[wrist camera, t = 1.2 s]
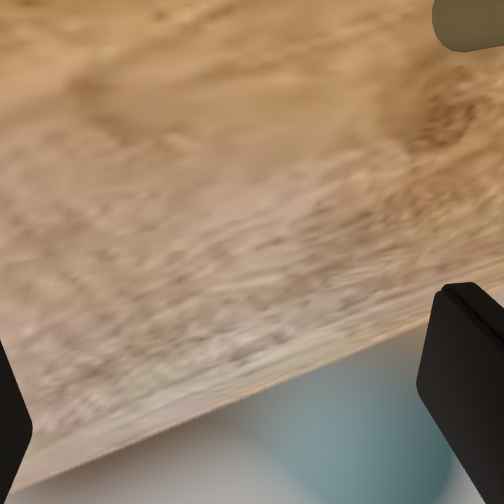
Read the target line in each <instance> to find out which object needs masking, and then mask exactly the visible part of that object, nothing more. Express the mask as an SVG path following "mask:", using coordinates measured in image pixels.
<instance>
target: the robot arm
mask: <svg viewBox="0 0 504 504" xmlns="http://www.w3.org/2000/svg"><path fill="white" fill-rule="evenodd" d="M416 385H417V391H418V394H419V396H420V398H421V400H422V401H423V403H424V404H425V406H426V408H427V409H428V411H429V413H430V414H431V416H432V417H433V419H434V421H435V422H436V424H437V426H438V427H439V429H440V430H441V432H442V434H443V435H444V437H445V438H446V440H447V442H448V443H449V445H450V447H451V448H452V450H453V451H454V453H455V455H456V456H457V458H458V459H459V461H460V463H461V464H462V466H463V468H464V469H465V471H466V472H467V474H468V476H469V477H470V479H471V481H472V482H473V484H474V485H475V487H476V489H477V490H478V492H479V494H480V495H481V497H482V498H483V500H484V502H485V503H486V504H504V308H503V307H502V306H501V305H499V304H498V303H497V302H496V301H495V300H494V299H492V297H490V296H489V295H488V294H487V293H486V292H485V291H484V290H482V289H481V288H480V287H479V286H478V285H477V284H475V283H473V282H464V283H452V284H446V285H444V286H443V287H442V289H441V291H438V292H437V293H436V294H435V297H434V301H433V305H432V310H431V315H430V319H429V324H428V329H427V333H426V339H425V343H424V348H423V352H422V357H421V362H420V366H419V371H418V376H417V382H416ZM32 430H33V427H32V421H31V418H30V415H29V413H28V410H27V408H26V405H25V402H24V400H23V397H22V395H21V392H20V390H19V387H18V384H17V382H16V379H15V377H14V374H13V371H12V369H11V366H10V364H9V361H8V359H7V356H6V353H5V351H4V348H3V346H2V343H1V341H0V504H4V502H5V500H6V497H7V495H8V493H9V490H10V488H11V486H12V483H13V481H14V478H15V476H16V474H17V471H18V469H19V466H20V464H21V462H22V459H23V457H24V455H25V452H26V450H27V447H28V445H29V443H30V440H31V437H32Z"/></svg>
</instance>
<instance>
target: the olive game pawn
mask: <svg viewBox="0 0 504 504" xmlns="http://www.w3.org/2000/svg"><path fill="white" fill-rule="evenodd" d="M432 23H433V27H434V30H435V34H436V36H437V38H438V39H439V40H440V42H441V43H442V44H443V45H444V46H445V47H447V48H449V49H450V50H452V51H457V52H469V51H475V50H480V49H486V48H492V47H498V46H503V45H504V0H435V1H434V5H433V13H432Z"/></svg>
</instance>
